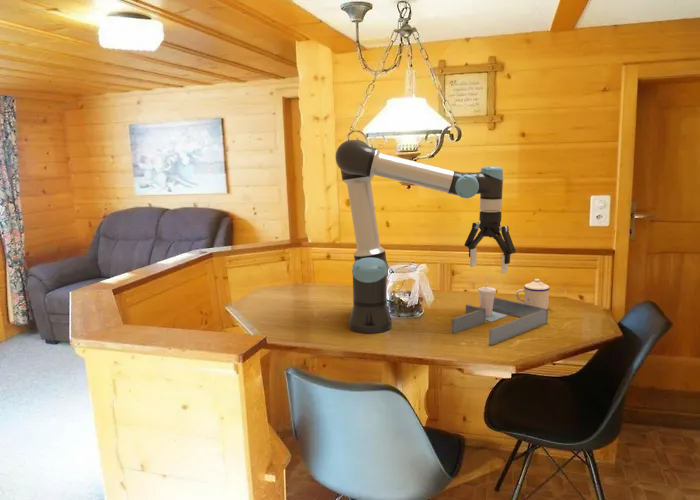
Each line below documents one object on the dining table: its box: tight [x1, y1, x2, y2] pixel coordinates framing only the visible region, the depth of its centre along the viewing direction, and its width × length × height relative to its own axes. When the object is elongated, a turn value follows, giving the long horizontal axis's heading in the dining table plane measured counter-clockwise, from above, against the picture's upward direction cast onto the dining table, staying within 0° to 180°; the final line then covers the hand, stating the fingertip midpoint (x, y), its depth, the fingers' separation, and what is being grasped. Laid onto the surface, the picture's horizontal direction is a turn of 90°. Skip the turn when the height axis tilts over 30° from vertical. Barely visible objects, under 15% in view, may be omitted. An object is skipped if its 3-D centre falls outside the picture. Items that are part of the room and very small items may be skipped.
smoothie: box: [477, 276, 497, 316], centre depth 200 cm, size 6×6×14 cm
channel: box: [451, 296, 549, 346], centre depth 190 cm, size 32×23×5 cm
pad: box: [485, 310, 509, 323], centre depth 201 cm, size 10×10×1 cm
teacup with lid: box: [515, 278, 551, 310], centre depth 207 cm, size 12×9×12 cm
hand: (488, 269), depth 198 cm, fingers open, 13 cm apart
